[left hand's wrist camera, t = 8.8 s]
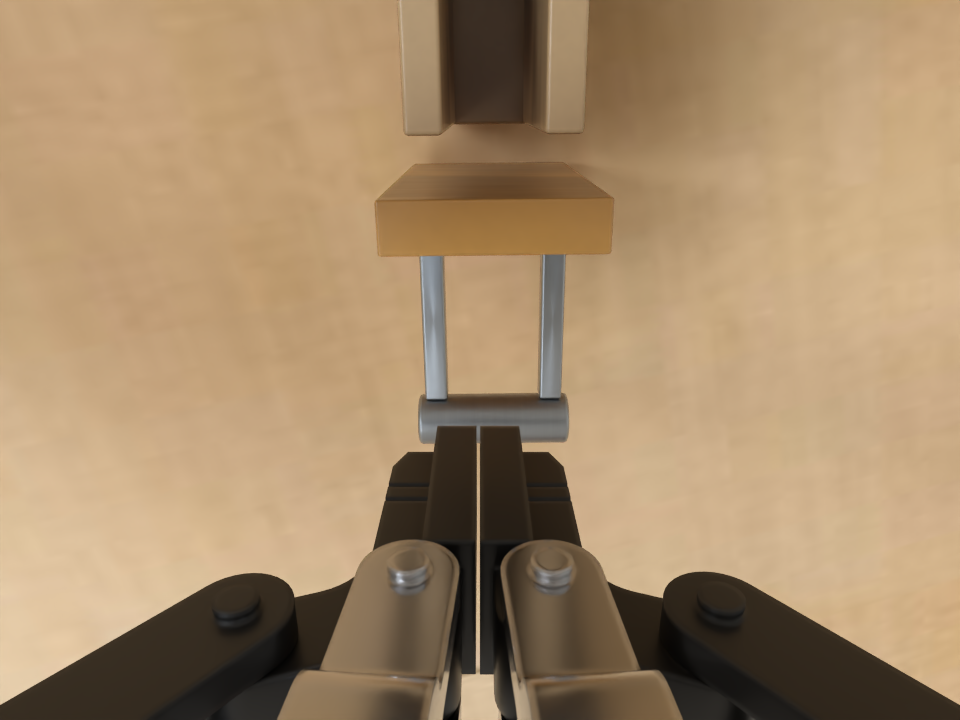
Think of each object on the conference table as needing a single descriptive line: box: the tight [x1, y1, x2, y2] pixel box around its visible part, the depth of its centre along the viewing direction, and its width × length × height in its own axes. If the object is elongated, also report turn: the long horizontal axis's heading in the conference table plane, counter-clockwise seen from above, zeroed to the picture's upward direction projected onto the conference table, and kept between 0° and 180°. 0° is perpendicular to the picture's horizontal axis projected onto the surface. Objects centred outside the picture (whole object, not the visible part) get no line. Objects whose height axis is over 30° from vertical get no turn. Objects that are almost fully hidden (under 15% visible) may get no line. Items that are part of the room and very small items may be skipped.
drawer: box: [375, 0, 614, 444], centre depth 17 cm, size 21×5×9 cm, turn 1°
